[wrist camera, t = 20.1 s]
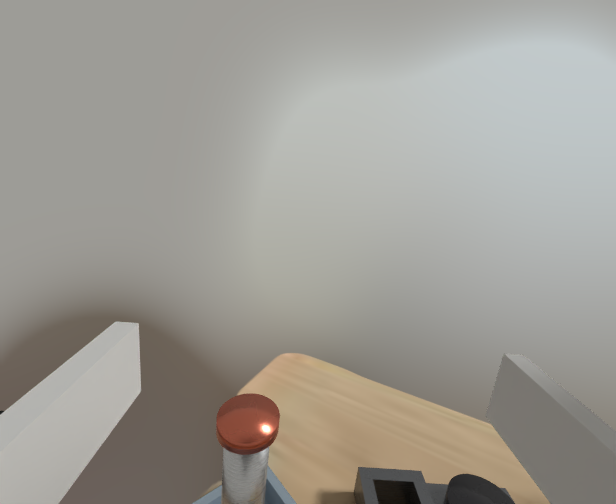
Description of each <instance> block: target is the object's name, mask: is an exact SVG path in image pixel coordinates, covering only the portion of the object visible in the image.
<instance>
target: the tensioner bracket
mask: <svg viewBox="0 0 616 504" xmlns="http://www.w3.org/2000/svg"><path fill="white" fill-rule="evenodd" d="M354 495H355V501H356V504H515V503H514V501H513V500H512V498H511V497H510V495H509V493H508V492H507V490H506V489H505V488H499V487H497V486H496V485H494V484H493V483H491V482H489V481H488V480H486V479H483V478H481V477H478V476H475V475H471V474H460V475H457V476H455V477H453V478H452V479H451V481H450V482H449V484H448V485H446V484H430V483H425V480H424V477H423V475H422V472H421V471H412V470H397V469H381V468H366V467H358V472H357V478H356V483H355V489H354Z"/></svg>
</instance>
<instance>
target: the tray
mask: <svg viewBox="0 0 616 504" xmlns="http://www.w3.org/2000/svg"><path fill="white" fill-rule="evenodd" d="M221 495H222V485H221V486H219V487H218V488H216V489H214V490H213V491H211V492H210V493H208V494H206V495H205V496H203V497H202V498H200V499H198V500H197V501H195V502H194V503H192V504H221ZM264 504H296V502H295V501H294V500H293V498H292V497H291V496H290V494H289V493H288V492H287V490H286V489H285V488H284V486H283V485H282V484H281V482H280V481H279V480H278V478H277V477H276V476H275V474H274V473H273V472H272V470H271V469H270V468H269V466H267V478H266V489H265V500H264Z"/></svg>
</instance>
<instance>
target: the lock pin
mask: <svg viewBox="0 0 616 504" xmlns="http://www.w3.org/2000/svg"><path fill="white" fill-rule="evenodd" d="M279 418H280V413H279V410H278V407H277V406H276V404H275V403H274V402H273V401H272V400H270V399H269V398H267V397H265V396H262V395H259V394H242V395H238V396H235V397H233V398H231V399H229V400H228V401H227V402H225V403H224V404H223V405H222V406H221V408H220V409H219V412H218V414H217V426H216V435H217V439H218V441H219V443H220V444H221V446H222V447H224V450H223V472H222V474H223V475H222V495H221V504H264V500H265V489H266V478H267V466H268V455H269V446H270V445H271V444H272V443H273V442H274V440H275V439H276V437H277V434H278V428H279Z"/></svg>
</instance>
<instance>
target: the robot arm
mask: <svg viewBox="0 0 616 504" xmlns="http://www.w3.org/2000/svg"><path fill="white" fill-rule="evenodd" d="M139 351H140V350H139V324H138V323H127V322H115V323H114V324H112V325H111V326H110V327H109V328H107V329H106V330H105V331H104V332H102V333H101V334H100V335H99V336H97V337H96V338H95V339H94V340H92V341H91V342H90V343H89V344H88V345H86V346H85V347H84V348H83V349H81V350H80V351H79V352H78V353H76V354H75V355H74V356H73V357H71V358H70V359H69V360H68V361H66V362H65V363H64V364H63V365H61V366H60V367H59V368H58V369H57V370H55V371H54V372H53V373H52V374H50V375H49V376H48V377H47V378H45V379H44V380H43V381H42V382H40V383H39V384H38V385H37V386H36V387H34V388H33V389H32V390H30V391H29V392H28V393H27V394H25V395H24V396H23V397H22V398H20V399H19V400H18V401H17V402H16V403H14V404H13V405H12V406H11V407H9V408H8V409H7V410H6V411H0V504H58V503H59V502H60V501H61V499H62V498H63V497H64V495H65V494H66V493H67V491H68V490H69V488H70V487H71V486H72V484H73V483H74V481H75V480H76V479H77V478H78V476H79V475H80V474H81V472H82V471H83V469H84V468H85V467H86V465H87V464H88V463H89V461H90V460H91V458H92V457H93V456H94V454H95V453H96V452H97V450H98V449H99V448H100V446H101V445H102V444H103V442H104V441H105V439H106V438H107V436H108V435H109V434H110V433H111V431H112V430H113V429H114V427H115V426H116V424H117V423H118V421H119V420H120V419H121V418H122V416H123V415H124V414H125V412H126V411H127V409H128V408H129V407H130V405H131V404H132V403H133V401H134V400H135V398H136V397H137V396H138V394H139V393H140V392H141V376H140V352H139ZM486 418H487V419H488V420H489V422H490V423H491V424H492V426H493V427H494V428H495V430H496V431H497V432H498V434H499V435H500V436H501V438H502V439H503V440H504V442H505V443H506V444H507V446H508V447H509V448H510V450H511V451H512V452H513V454H514V455H515V456H516V458H517V459H518V460H519V462H520V463H521V464H522V466H523V467H524V468H525V470H526V471H527V472H528V474H529V475H530V476H531V478H532V479H533V480H534V482H535V483H536V484H537V486H538V487H539V488H540V490H541V491H542V492H543V494H544V495H545V496H546V498H547V499H548V500H549V502H550V503H551V504H616V431H615V430H614V429H613V428H611V427H610V426H609V425H608V424H606V423H605V422H604V421H603V420H602V419H601V418H599V417H598V416H597V415H596V414H594V413H593V412H592V411H591V410H590V409H588V408H587V407H586V406H585V405H584V404H582V403H581V402H580V401H579V400H578V399H576V398H575V397H574V396H573V395H571V394H570V393H569V392H568V391H567V390H565V389H564V388H563V387H562V386H561V385H559V384H558V383H557V382H556V381H555V380H553V379H552V378H551V377H550V376H549V375H547V374H546V373H545V372H544V371H542V370H541V369H540V368H539V367H538V366H536V365H535V364H534V363H533V362H532V361H530V360H529V359H528V358H527V357H526V356H524V355H515V354H504V355H503V358H502V362H501V365H500V369H499V372H498V376H497V379H496V382H495V386H494V389H493V392H492V396H491V399H490V403H489V406H488V410H487V413H486Z"/></svg>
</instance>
